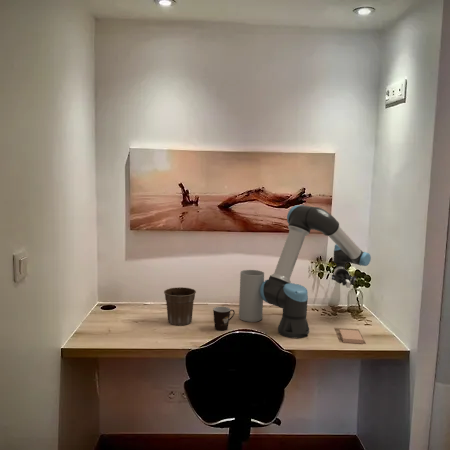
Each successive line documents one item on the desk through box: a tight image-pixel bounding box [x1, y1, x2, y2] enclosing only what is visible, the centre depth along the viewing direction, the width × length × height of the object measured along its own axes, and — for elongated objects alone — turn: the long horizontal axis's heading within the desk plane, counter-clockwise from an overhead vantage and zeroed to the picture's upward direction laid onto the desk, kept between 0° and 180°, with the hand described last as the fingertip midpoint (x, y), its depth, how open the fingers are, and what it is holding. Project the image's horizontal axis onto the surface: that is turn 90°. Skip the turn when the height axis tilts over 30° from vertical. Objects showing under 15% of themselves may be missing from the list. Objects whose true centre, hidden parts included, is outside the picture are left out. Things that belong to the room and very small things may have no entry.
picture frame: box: [339, 329, 364, 345], centre depth 215 cm, size 2×9×12 cm
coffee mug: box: [212, 306, 236, 332], centre depth 225 cm, size 12×9×10 cm
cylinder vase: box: [238, 269, 265, 323], centre depth 240 cm, size 12×12×25 cm
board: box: [333, 327, 367, 345], centre depth 219 cm, size 19×12×1 cm, turn 174°
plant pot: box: [163, 287, 197, 326], centre depth 232 cm, size 16×16×16 cm
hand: (348, 285), depth 227 cm, fingers closed
